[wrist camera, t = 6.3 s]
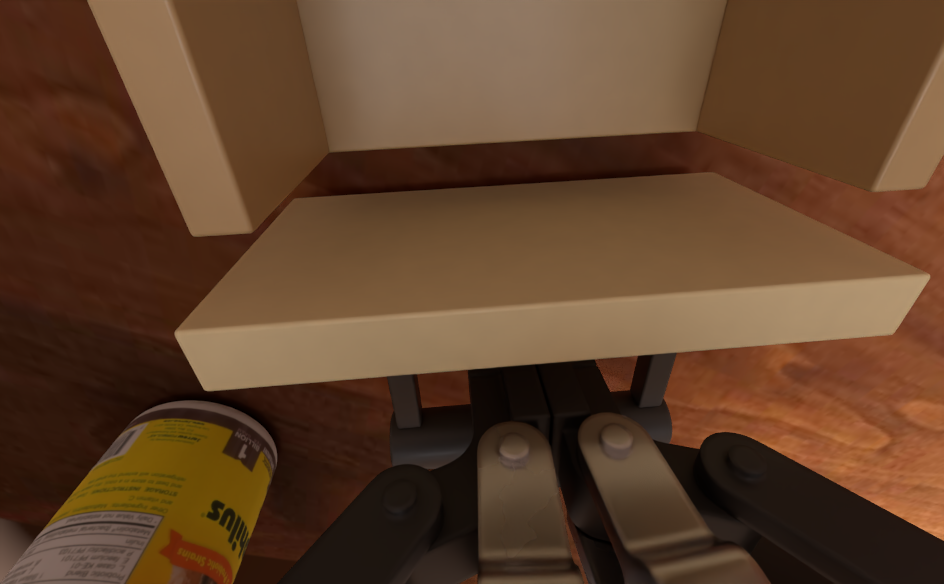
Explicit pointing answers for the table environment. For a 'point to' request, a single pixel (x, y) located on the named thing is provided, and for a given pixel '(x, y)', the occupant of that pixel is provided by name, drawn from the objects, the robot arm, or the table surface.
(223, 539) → the supplement bottle
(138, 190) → the table surface
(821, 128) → the drawer
